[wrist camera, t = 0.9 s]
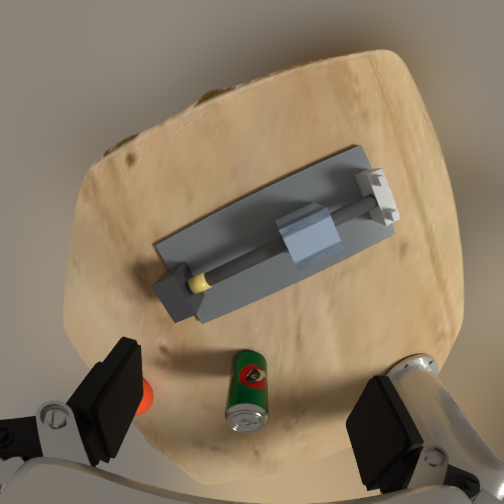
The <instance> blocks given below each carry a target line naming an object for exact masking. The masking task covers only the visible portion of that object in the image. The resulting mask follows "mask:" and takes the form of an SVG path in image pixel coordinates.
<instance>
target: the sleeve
mask: <svg viewBox="0 0 504 504" xmlns="http://www.w3.org/2000/svg"><path fill="white" fill-rule="evenodd" d="M275 222H276V224H277V227H278V229H279V231H280V233H281V236H282V238H283V240H284V242H285V244H286V246H287V248H288V250H289V252H290V254H291V256H292V259H293V261H294V263H295V265H296V267H297V269H298V271H299V270H301V269H304V268H306V267H308V266H310V265H312V264H314V263H316V262H318V261H320V260H322V259H324V258H326V257H329V256H331V255H333V254H335V253H337V252H339V251H341V250H343V249H344V247H343V244H342V242H341V239H340V237H339V234H338V232H337V230H336V227H335V225H334V222H333V220H332V218H331V215H330V213H329V211H328V208H327V207H325V206H322V205H320V204H318V203H315V202H313V203H310V204H308V205H306V206H304V207H302V208H300V209H298V210H296V211H294V212H292V213H289V214H287V215H285V216H283V217H281V218H279V219H277V220H275Z"/></svg>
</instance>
